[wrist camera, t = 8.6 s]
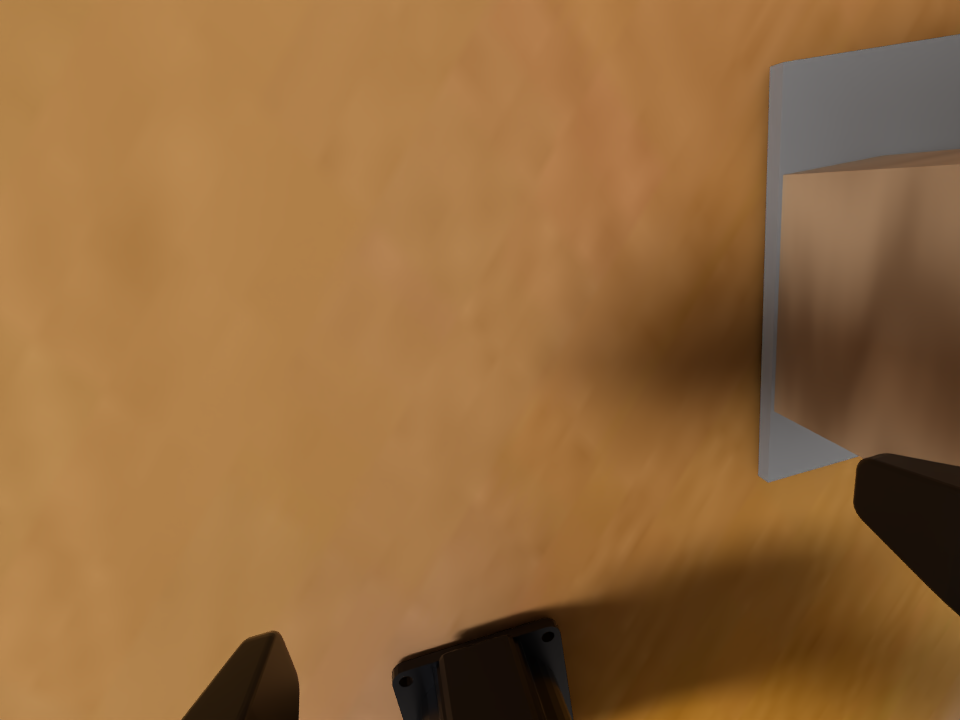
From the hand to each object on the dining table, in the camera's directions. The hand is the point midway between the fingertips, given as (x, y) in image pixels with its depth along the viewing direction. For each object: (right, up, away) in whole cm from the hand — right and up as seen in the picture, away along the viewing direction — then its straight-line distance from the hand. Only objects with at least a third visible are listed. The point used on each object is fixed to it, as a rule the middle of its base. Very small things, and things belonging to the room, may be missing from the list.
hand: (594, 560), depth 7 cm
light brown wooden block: (+10, +5, +9) cm, 14 cm away
